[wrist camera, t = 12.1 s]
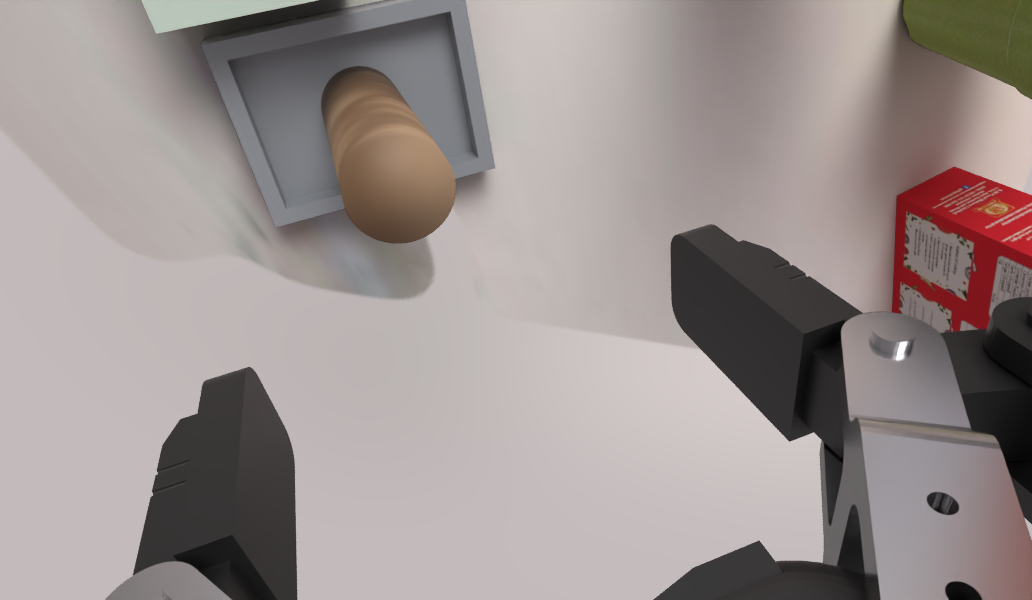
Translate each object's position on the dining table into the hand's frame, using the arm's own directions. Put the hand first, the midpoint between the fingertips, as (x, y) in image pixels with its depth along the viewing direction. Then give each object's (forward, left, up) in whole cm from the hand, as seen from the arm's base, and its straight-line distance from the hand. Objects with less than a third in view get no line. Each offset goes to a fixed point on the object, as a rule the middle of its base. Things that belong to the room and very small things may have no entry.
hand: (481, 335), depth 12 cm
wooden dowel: (0, +2, -24) cm, 24 cm away
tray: (0, +2, -24) cm, 24 cm away
